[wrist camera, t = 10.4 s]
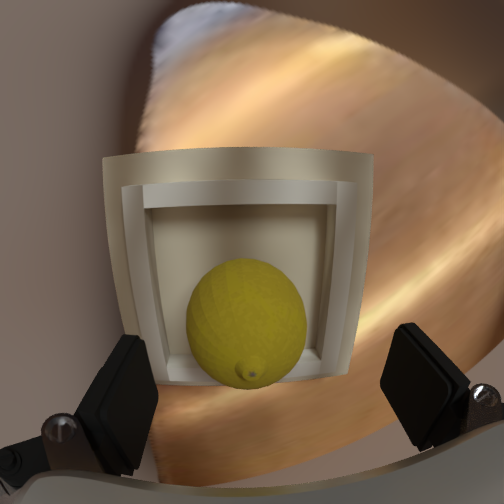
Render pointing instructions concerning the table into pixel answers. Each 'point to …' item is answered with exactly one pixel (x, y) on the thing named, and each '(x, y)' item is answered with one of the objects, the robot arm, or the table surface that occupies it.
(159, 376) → the stand
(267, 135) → the table surface
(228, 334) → the lemon
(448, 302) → the table surface
